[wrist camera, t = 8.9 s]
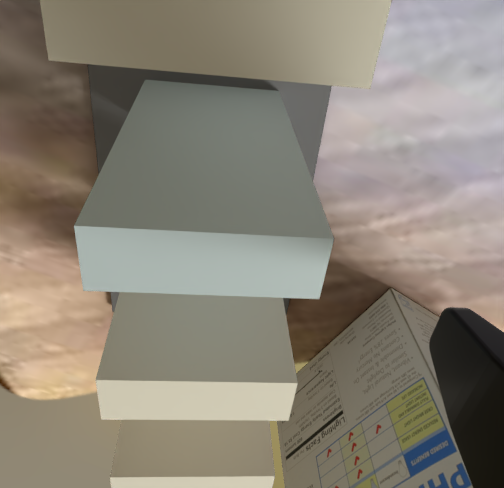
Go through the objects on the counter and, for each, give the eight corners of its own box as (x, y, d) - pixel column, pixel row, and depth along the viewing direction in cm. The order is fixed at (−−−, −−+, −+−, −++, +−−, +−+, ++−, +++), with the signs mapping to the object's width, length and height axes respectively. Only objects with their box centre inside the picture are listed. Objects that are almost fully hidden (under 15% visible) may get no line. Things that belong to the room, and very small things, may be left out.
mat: (442, -499, 10) (449, -514, 10) (285, 311, 24) (285, 317, 24) (26, -598, 9) (19, -617, 9) (114, 306, 23) (112, 311, 23)
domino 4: (151, 270, 22) (110, 477, 13) (254, 274, 22) (274, 476, 14) (151, 295, 23) (113, 503, 14) (251, 298, 23) (268, 501, 15)
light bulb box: (347, 424, 31) (398, 623, 22) (268, 392, 28) (290, 602, 20) (470, 329, 26) (598, 534, 17) (388, 281, 24) (490, 492, 15)
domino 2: (145, 79, 17) (74, 225, 8) (279, 91, 17) (333, 238, 9) (146, 121, 18) (83, 290, 9) (273, 131, 18) (319, 299, 10)
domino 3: (148, 187, 19) (95, 380, 11) (264, 194, 20) (297, 383, 11) (149, 219, 20) (101, 419, 12) (260, 225, 21) (288, 420, 12)
